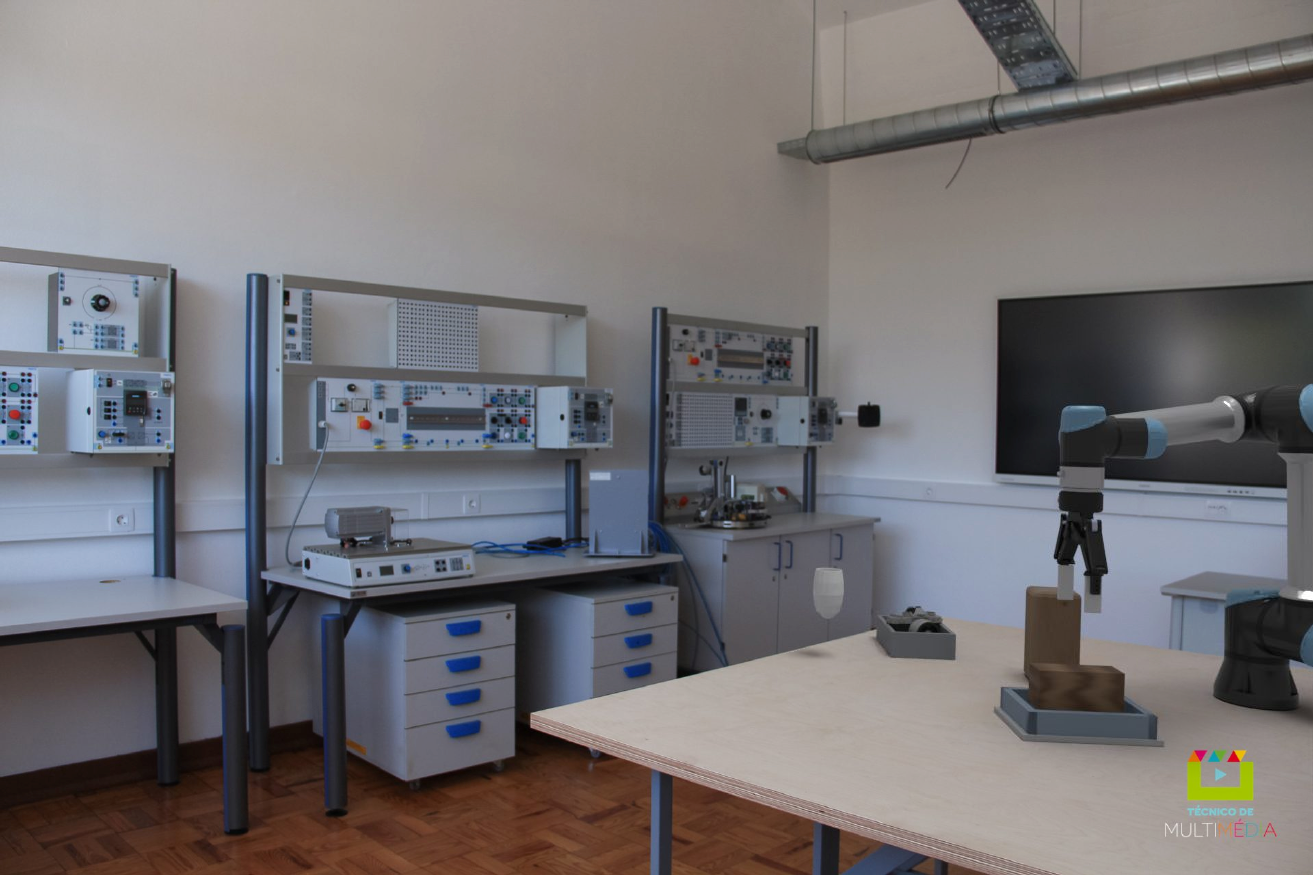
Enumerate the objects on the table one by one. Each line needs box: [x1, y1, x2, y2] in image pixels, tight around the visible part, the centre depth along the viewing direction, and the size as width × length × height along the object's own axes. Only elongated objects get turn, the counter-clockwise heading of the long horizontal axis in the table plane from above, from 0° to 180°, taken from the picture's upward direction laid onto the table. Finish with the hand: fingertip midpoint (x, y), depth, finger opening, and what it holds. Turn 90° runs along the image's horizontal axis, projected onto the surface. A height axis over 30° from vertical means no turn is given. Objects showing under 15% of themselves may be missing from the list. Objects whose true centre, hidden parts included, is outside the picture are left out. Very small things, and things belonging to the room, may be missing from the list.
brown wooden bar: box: [1028, 663, 1126, 713], centre depth 181 cm, size 15×6×7 cm, turn 87°
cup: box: [812, 567, 845, 620], centre depth 234 cm, size 7×7×21 cm
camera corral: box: [875, 614, 957, 661], centre depth 245 cm, size 15×22×6 cm
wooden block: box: [1023, 585, 1083, 680], centre depth 216 cm, size 10×10×20 cm
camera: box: [886, 605, 944, 633], centre depth 245 cm, size 16×9×10 cm, turn 106°
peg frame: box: [993, 686, 1165, 747], centre depth 181 cm, size 24×18×5 cm
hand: (1078, 606), depth 181 cm, fingers open, 13 cm apart
